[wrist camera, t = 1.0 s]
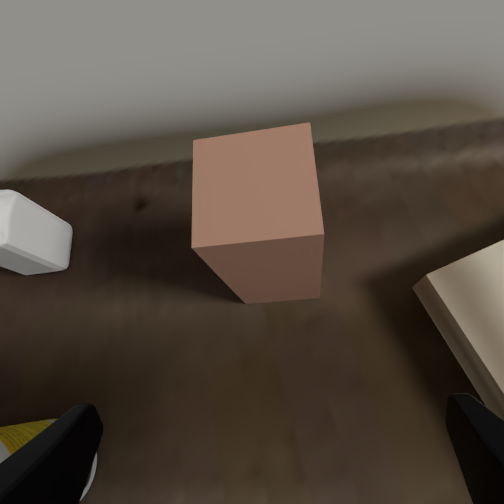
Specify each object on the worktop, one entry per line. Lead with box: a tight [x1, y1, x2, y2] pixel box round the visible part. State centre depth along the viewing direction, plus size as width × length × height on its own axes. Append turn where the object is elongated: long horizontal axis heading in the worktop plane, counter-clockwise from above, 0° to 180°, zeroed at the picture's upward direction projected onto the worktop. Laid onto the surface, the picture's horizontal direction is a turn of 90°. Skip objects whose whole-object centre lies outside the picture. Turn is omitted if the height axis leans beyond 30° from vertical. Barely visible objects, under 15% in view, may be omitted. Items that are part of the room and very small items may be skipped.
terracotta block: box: [192, 123, 324, 304], centre depth 19 cm, size 5×5×11 cm
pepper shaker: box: [0, 190, 73, 275], centre depth 23 cm, size 4×4×10 cm
